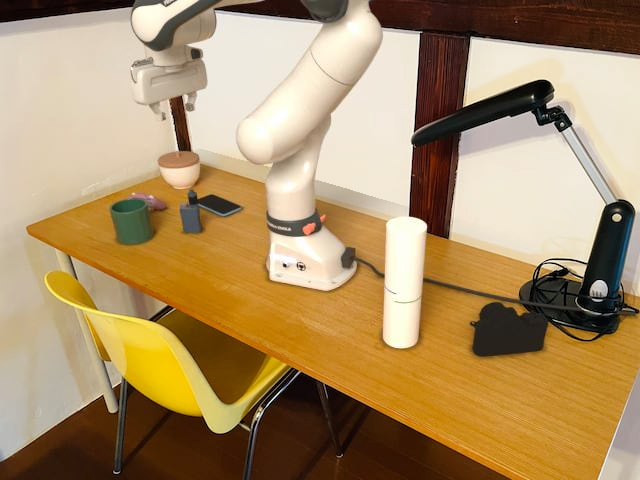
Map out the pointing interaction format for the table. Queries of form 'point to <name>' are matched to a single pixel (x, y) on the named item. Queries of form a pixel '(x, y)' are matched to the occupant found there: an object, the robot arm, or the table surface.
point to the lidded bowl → (180, 168)
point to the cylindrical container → (403, 280)
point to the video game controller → (150, 201)
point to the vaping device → (191, 214)
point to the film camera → (507, 331)
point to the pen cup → (132, 221)
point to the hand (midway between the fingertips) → (176, 115)
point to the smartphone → (218, 205)
